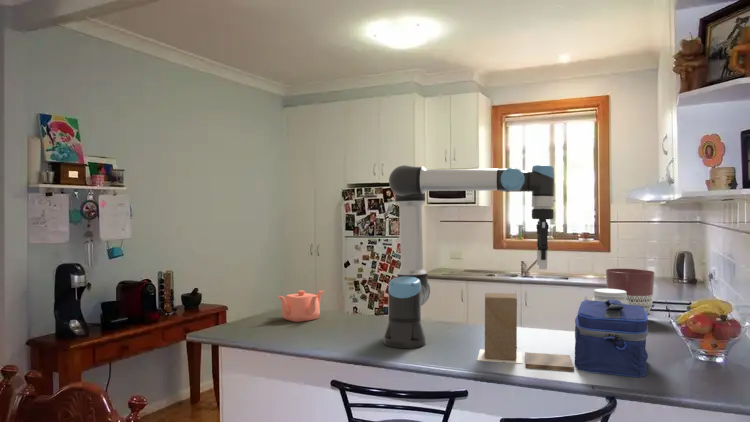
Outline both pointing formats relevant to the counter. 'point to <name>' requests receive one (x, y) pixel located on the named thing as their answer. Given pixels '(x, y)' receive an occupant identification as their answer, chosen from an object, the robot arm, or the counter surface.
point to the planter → (633, 285)
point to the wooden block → (500, 326)
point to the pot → (301, 306)
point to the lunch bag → (611, 338)
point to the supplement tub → (610, 295)
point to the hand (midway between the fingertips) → (541, 267)
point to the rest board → (549, 361)
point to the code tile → (482, 358)
